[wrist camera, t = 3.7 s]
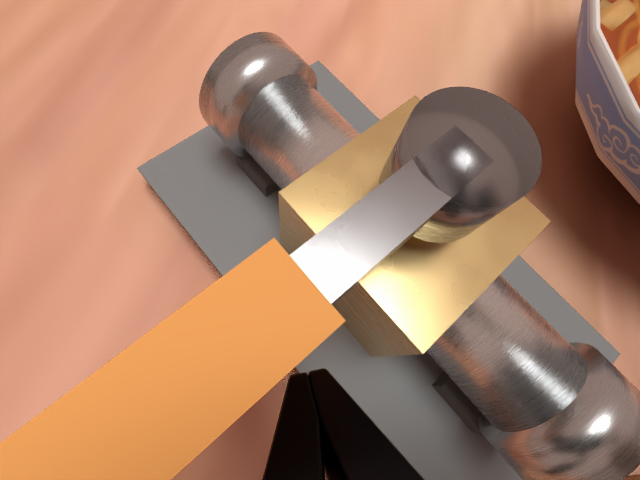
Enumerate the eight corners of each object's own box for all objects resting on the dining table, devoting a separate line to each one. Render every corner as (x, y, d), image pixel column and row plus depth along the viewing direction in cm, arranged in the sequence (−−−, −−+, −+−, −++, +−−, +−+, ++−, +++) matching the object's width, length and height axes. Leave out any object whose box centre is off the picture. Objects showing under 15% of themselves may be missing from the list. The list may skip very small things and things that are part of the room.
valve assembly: (593, 354, 18) (844, 348, 10) (443, 553, 14) (641, 791, 6) (316, 79, 22) (334, -81, 14) (147, 182, 19) (45, 47, 11)
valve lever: (426, 131, 11) (471, 59, 8) (501, 202, 10) (575, 149, 8) (63, 408, 8) (-55, 433, 5) (144, 538, 7) (60, 646, 4)
